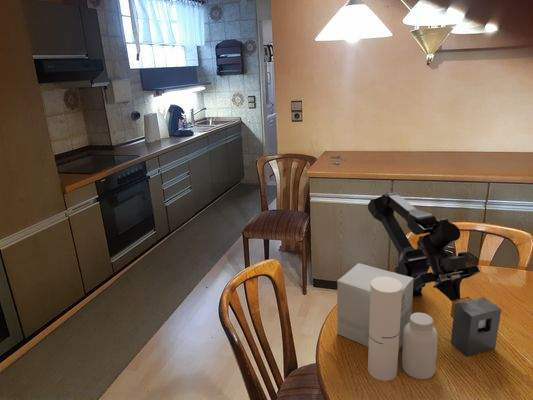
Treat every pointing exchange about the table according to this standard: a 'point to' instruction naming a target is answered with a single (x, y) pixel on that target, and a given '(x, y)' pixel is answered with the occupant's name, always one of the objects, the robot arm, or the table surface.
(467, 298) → the pin
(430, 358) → the pill bottle
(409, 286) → the supplement box
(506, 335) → the table surface
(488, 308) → the block
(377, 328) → the cylindrical container
